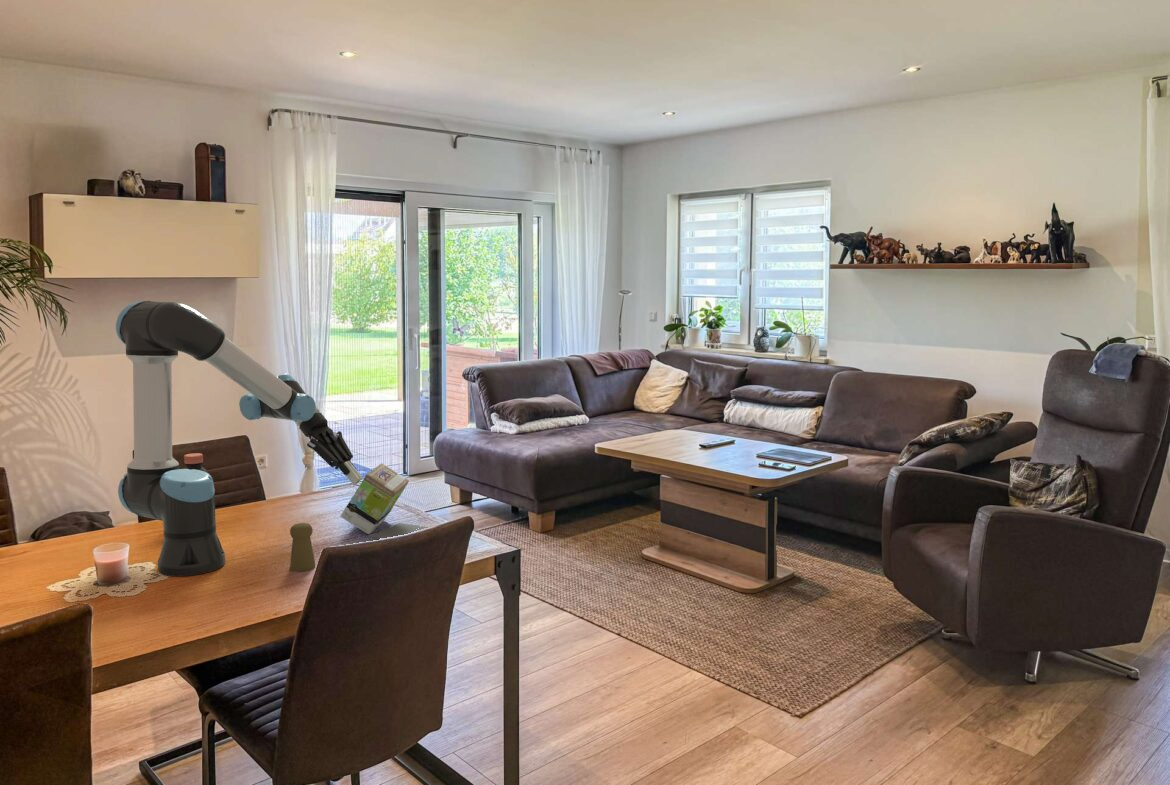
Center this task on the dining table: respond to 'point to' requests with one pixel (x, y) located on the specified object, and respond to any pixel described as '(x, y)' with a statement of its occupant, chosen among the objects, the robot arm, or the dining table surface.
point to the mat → (396, 531)
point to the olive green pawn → (301, 548)
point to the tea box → (374, 498)
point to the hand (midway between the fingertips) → (358, 481)
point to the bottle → (194, 461)
